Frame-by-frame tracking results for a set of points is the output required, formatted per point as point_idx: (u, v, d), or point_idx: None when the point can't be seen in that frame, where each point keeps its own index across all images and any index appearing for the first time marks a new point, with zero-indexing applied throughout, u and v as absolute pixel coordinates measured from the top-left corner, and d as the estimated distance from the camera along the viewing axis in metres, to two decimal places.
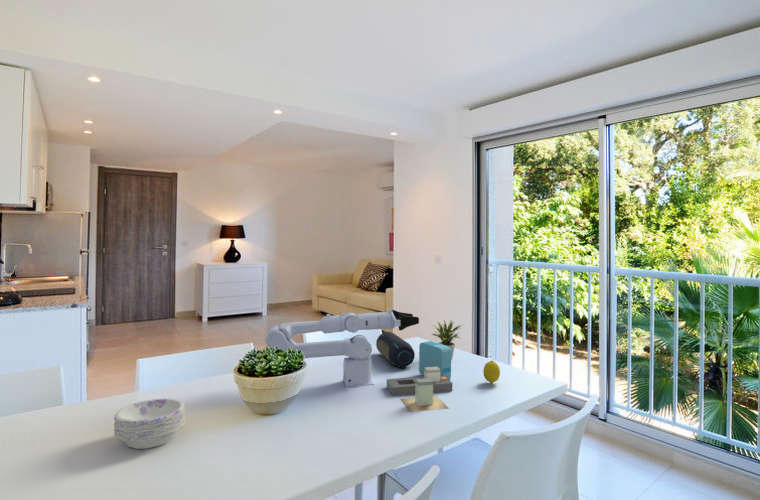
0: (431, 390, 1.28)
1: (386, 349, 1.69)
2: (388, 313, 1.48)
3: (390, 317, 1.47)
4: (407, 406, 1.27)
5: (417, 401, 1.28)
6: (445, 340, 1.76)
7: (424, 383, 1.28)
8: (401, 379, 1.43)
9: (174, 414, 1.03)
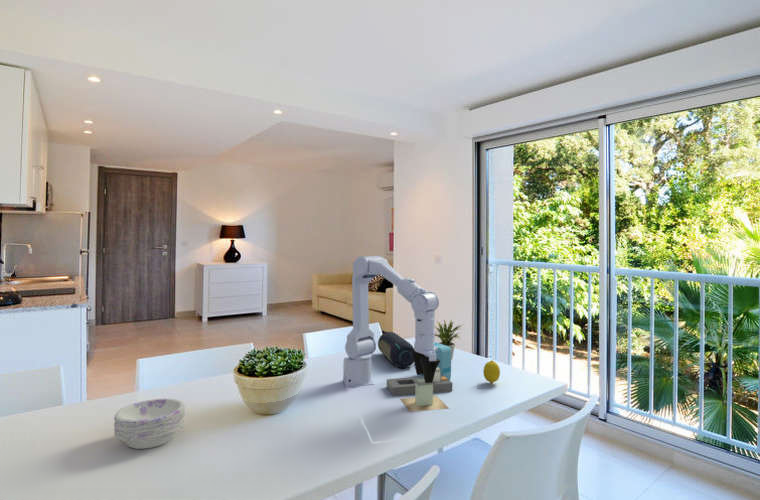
0: (431, 390, 1.28)
1: (387, 349, 1.69)
2: None
3: (431, 348, 1.27)
4: (407, 406, 1.27)
5: (417, 401, 1.28)
6: (445, 340, 1.76)
7: (424, 383, 1.28)
8: (401, 379, 1.43)
9: (174, 414, 1.03)
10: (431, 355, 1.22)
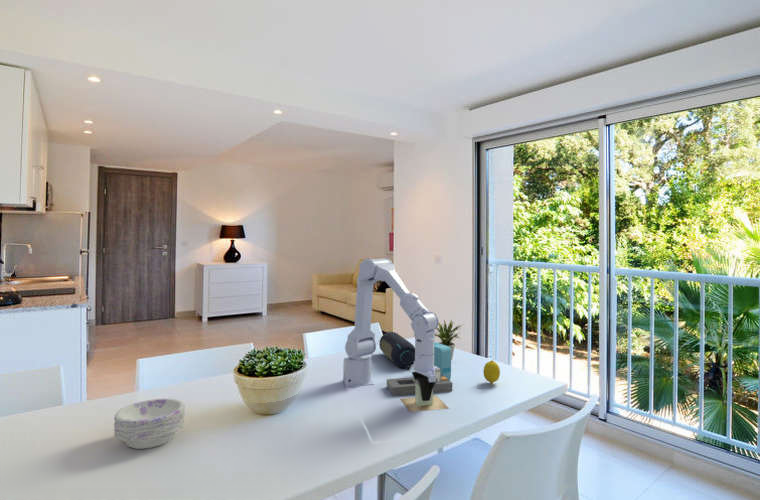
0: None
1: (389, 349, 1.69)
2: (433, 365, 1.29)
3: (431, 368, 1.27)
4: (407, 406, 1.27)
5: (417, 401, 1.28)
6: (445, 340, 1.76)
7: None
8: (401, 379, 1.43)
9: (174, 414, 1.03)
10: (431, 376, 1.22)
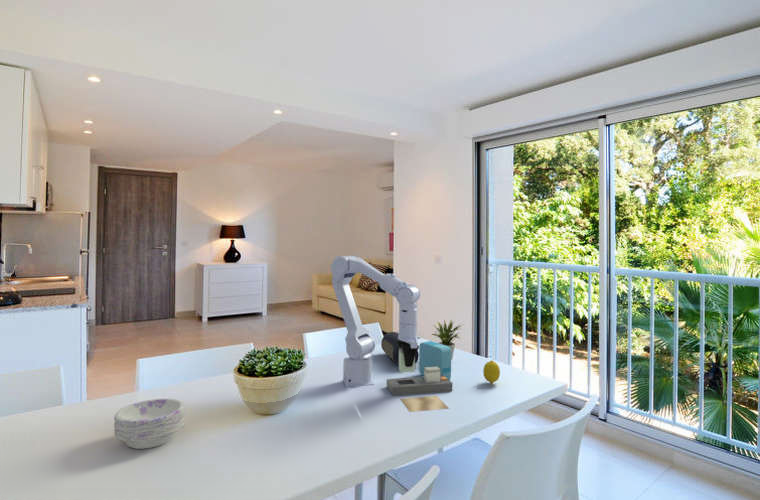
0: None
1: (390, 349, 1.69)
2: (416, 334, 1.39)
3: (413, 337, 1.37)
4: (407, 406, 1.27)
5: (400, 367, 1.39)
6: (445, 340, 1.76)
7: None
8: (401, 379, 1.43)
9: (174, 414, 1.03)
10: (412, 343, 1.32)
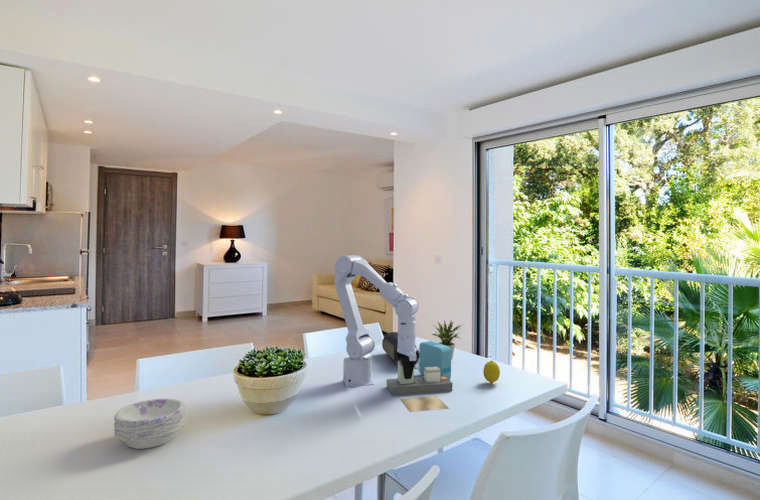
0: None
1: (391, 349, 1.69)
2: None
3: (412, 349, 1.38)
4: (407, 406, 1.27)
5: (399, 380, 1.39)
6: (445, 340, 1.76)
7: None
8: None
9: (174, 414, 1.03)
10: (411, 355, 1.33)
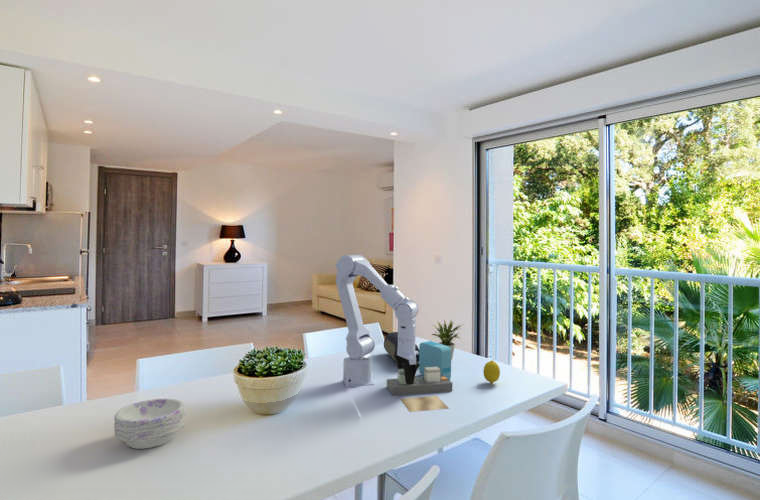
0: None
1: (392, 349, 1.69)
2: None
3: (412, 352, 1.38)
4: (407, 406, 1.27)
5: None
6: (445, 340, 1.76)
7: None
8: None
9: (174, 414, 1.03)
10: (411, 359, 1.33)
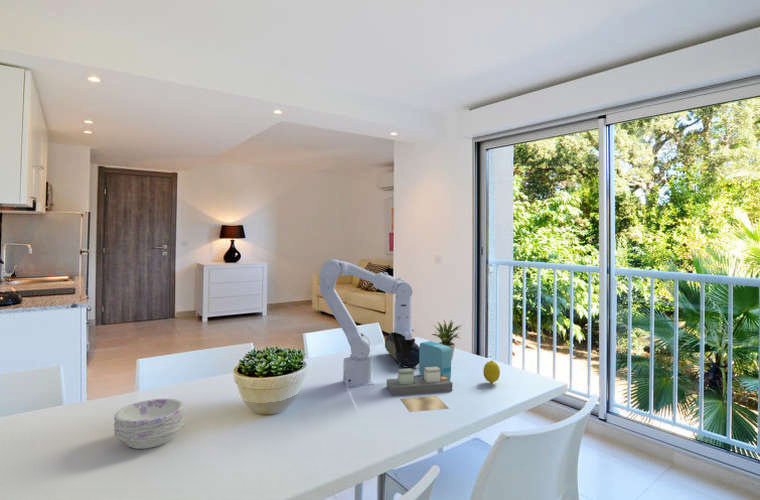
0: (412, 379, 1.40)
1: (393, 349, 1.69)
2: (410, 327, 1.47)
3: (408, 329, 1.46)
4: (407, 406, 1.27)
5: None
6: (445, 340, 1.76)
7: (405, 372, 1.39)
8: None
9: (174, 414, 1.03)
10: (407, 334, 1.41)
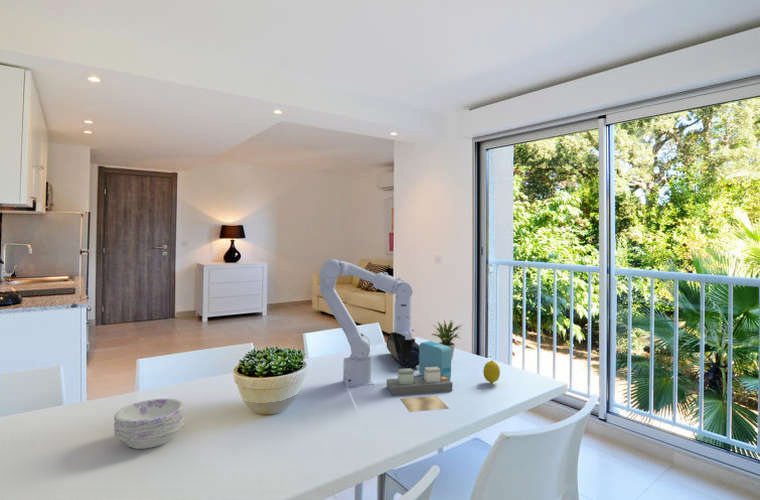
0: (412, 379, 1.40)
1: (395, 349, 1.70)
2: (410, 327, 1.48)
3: (408, 329, 1.46)
4: (407, 406, 1.27)
5: None
6: (445, 340, 1.76)
7: (405, 372, 1.39)
8: None
9: (174, 414, 1.03)
10: (407, 334, 1.41)
